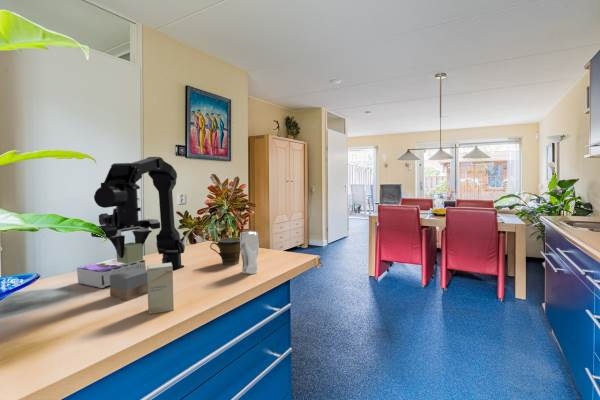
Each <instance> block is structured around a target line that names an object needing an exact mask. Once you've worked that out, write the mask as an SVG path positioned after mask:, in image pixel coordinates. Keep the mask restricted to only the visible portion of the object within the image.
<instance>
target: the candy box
mask: <svg viewBox="0 0 600 400" xmlns="http://www.w3.org/2000/svg"><path fill="white" fill-rule="evenodd" d="M133 268H137V269H143V270H147V267H146V260H145V259H143V260H139V261H136V262H132V263H128V264H127V263H121V262H117V257H116V258H111V259H107V260H103V261H99V262H95V263H91V264H86V265H83V266H77V267H76V273H77V282H78V283H77V284H80V285H84V286H89V287H95V288H99V289H104V288H107V287H110V275H111V274H115V273H119V272H122V271H126V270H129V269H133Z"/></svg>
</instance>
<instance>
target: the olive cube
mask: <svg viewBox="0 0 600 400" xmlns="http://www.w3.org/2000/svg"><path fill="white" fill-rule="evenodd" d="M143 251H144V250H143V247H142V244H141V243H135V242H127V243H124V255H123V258H120V257H119V255H118V253H117V251H116V258H117V262H121V263H127V264H128V263H132V262H136V261H139V260H144V253H143Z"/></svg>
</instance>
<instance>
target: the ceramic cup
mask: <svg viewBox="0 0 600 400" xmlns="http://www.w3.org/2000/svg"><path fill="white" fill-rule="evenodd" d="M212 245H216V247H218V248H219V251H217V250H216V249H214V248H213V247H212ZM209 247H210V249H211V250H213V251H214V252H216V254H218V255H219V256H220V258H221V262H222V265H223V266H235V265H237V264H239V263H240V256H241V250H240V237H223V238H220V239H218V240H217V242H212V243H210V245H209Z"/></svg>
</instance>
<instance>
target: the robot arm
mask: <svg viewBox="0 0 600 400" xmlns="http://www.w3.org/2000/svg"><path fill="white" fill-rule="evenodd" d="M144 174H148V176H149V177H150V179H151V180H152V185H153V186H154V188H155V189H156V190H157V191H158V200H159V202H158V203H159V204H158V205H159V214H160V215H159V217H160V219H154V218H153V219H151V218H148V219H141V220H140V219H139V212H142V208H141V207H139V206H138V191H137V190H140V188H141V187H140V186H139V185H138V184H137V182H139V180H141V179H142V178H143V175H144ZM177 178H178V173H177V171H176V169H175V168H174V167H173V166H172V164H169V163H168V162H167V161H165V160H164V159H163V157H161V156H148V157H146V158H144V159H140V160H137V161H134V162H120V163H119V162H117V163H112V164H111V165H110V168H109V170H108V172H107V175H106V177H105V180H104V181H103V182H100V187H99V188H97V189H96V191H95V193H94V195H93V199H94V202H95V204H96V205H97V206H99V207H100V208H104V209H105V208H113V207H116V208H113V209H112V214H108V213H107V212H105V213H100V214H99V215H98V222H99V225H97V227H99V228H101V229H102V230H103V231H104V232H105V234H106V237H107V238H106V239H107V240H109V241H110V242H111V244H112V245H113V247H114V249H115V250H116V251H117V252H116V254H117V253H118V255H119V257H120V258H123V255H124V244H125V240H126V239H125V238H126V235H122V233H123V232H128V231H131V232H132V233H133V236H134V243H141V244H142V248H143V247H144V244H145V243H146V240H147V239H148V237H149V235H150V234H151V233H152V232H153V231H152V230H158V229H160V230H159V232H158V234H156V236H155V239H156V243H155V244H156V248H157V251H158V255H162V258H161V262H162V263H170V262H171V263H172V267H173V271H175V270H178V269H181V268H184V267H185V265H183V264H182V254H184V253H185V248H186V247H185V244H184V243H183V241H182V239H181V235H180V232H179V231H178V230H177V228H176V227H175V226H176V225H175V214H174V213H175V211H174V198H173V190H174V189H175V186H176V185H177ZM159 220H160V221H159ZM150 229H151V230H150ZM90 234H91V236H90V237H92V238H101V239H103V237H101V236H98V235H96V234H93V233H91V232H90ZM162 263H161V264H162Z"/></svg>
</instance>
